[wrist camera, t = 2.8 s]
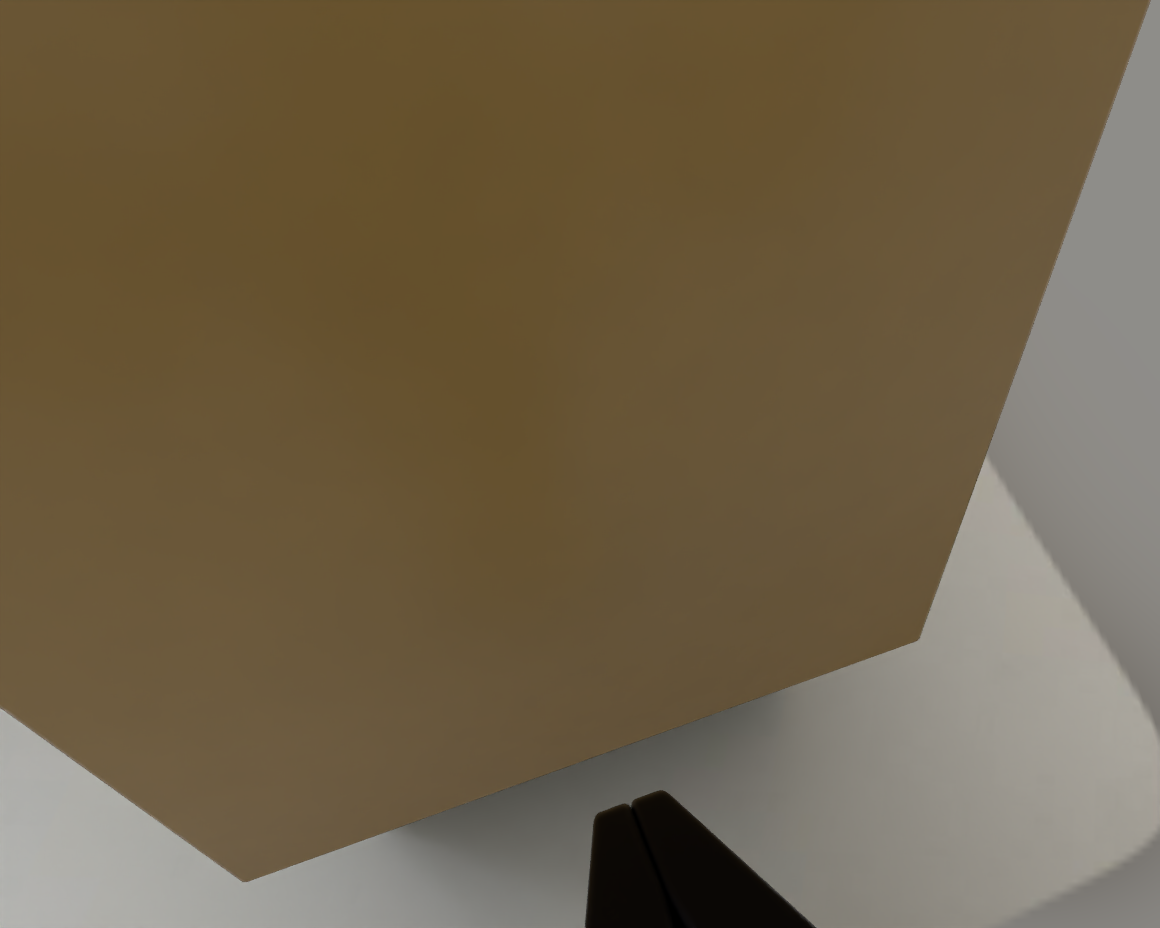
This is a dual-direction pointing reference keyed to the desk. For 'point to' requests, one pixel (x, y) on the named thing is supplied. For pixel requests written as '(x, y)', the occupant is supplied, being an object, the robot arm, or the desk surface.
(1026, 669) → the desk surface
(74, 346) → the lid
